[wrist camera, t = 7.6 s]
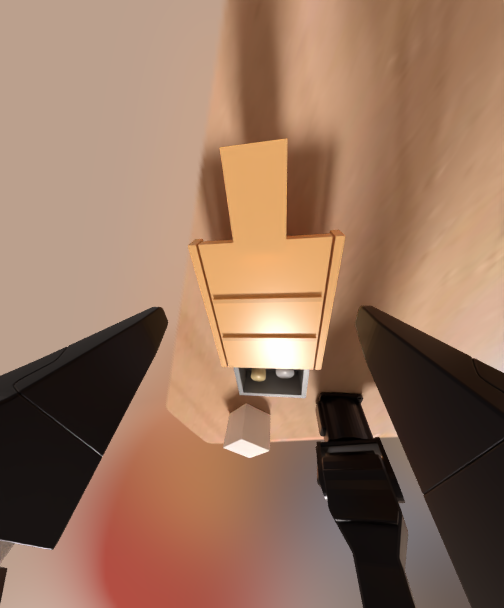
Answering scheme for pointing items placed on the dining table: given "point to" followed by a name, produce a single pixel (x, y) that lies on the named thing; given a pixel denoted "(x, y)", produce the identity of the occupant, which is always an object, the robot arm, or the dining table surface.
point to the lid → (266, 269)
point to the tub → (272, 382)
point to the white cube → (248, 431)
